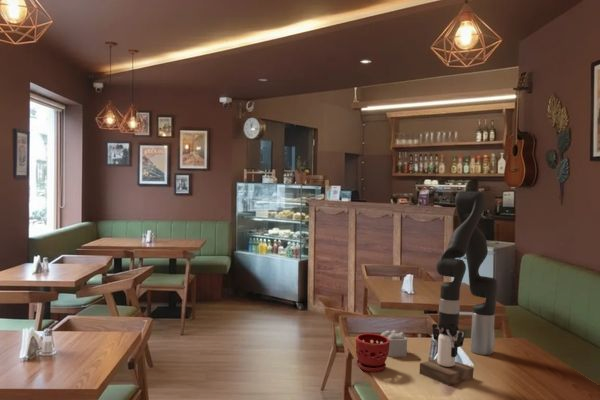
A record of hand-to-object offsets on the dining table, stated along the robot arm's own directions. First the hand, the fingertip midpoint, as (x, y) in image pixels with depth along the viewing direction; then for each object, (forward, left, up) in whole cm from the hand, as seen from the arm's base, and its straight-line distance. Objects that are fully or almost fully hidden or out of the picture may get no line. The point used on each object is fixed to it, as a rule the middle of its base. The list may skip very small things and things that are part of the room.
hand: (447, 354), depth 203 cm
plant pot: (+19, -21, -9) cm, 30 cm away
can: (0, 0, -4) cm, 4 cm away
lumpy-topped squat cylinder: (-3, -31, -9) cm, 32 cm away
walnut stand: (0, 0, -8) cm, 8 cm away
